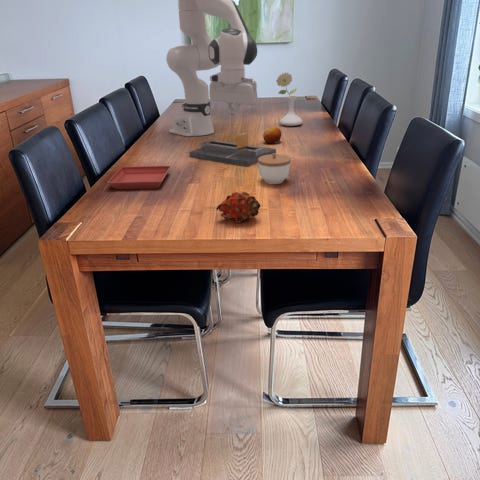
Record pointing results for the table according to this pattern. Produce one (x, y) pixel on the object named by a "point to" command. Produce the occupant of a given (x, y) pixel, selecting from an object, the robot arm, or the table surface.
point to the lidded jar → (274, 168)
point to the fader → (242, 140)
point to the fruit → (272, 135)
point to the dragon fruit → (239, 207)
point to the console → (230, 153)
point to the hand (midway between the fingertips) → (233, 114)
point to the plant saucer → (139, 177)
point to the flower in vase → (290, 117)
